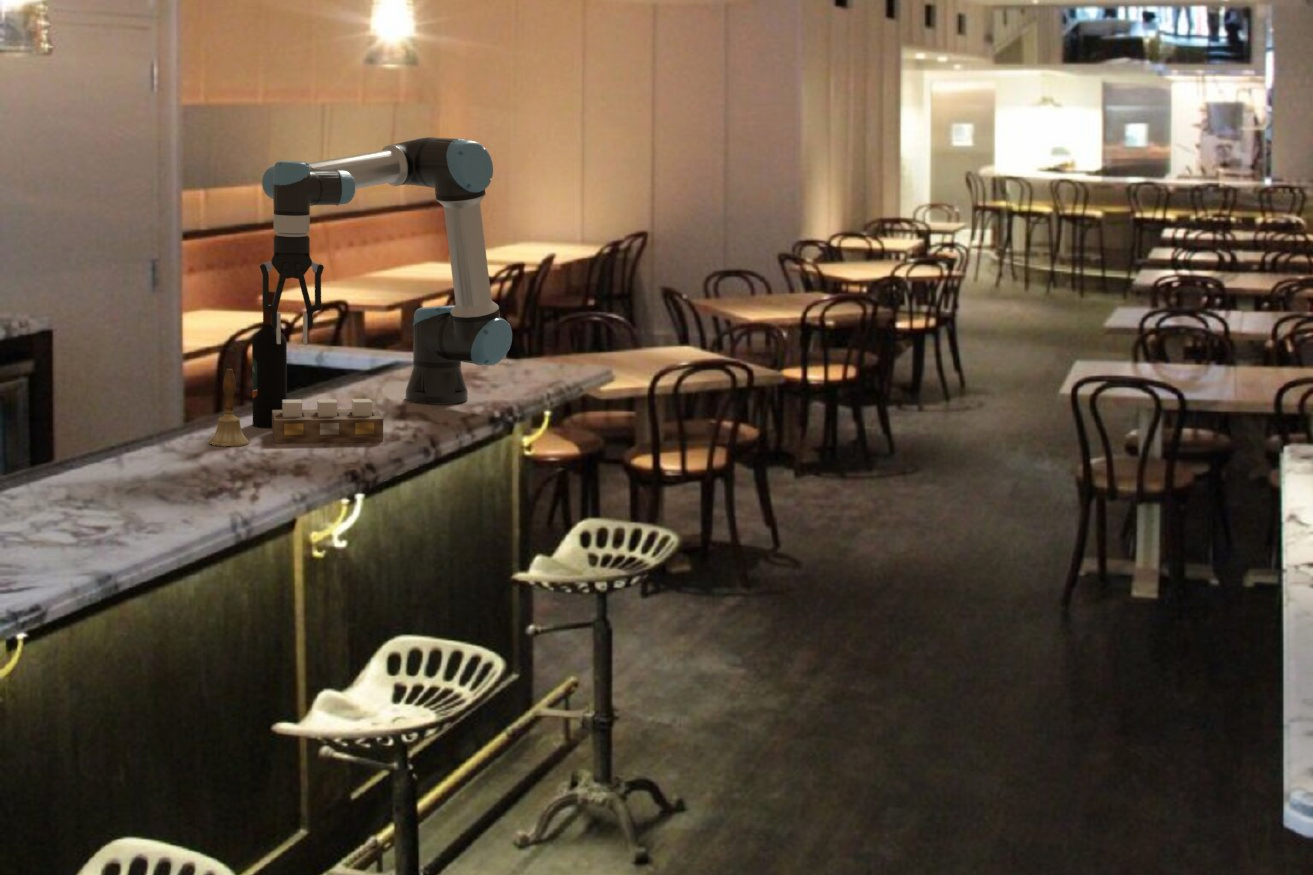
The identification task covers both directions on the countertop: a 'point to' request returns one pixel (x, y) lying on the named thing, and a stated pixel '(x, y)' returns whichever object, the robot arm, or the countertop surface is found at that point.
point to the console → (327, 427)
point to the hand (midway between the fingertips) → (291, 342)
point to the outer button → (292, 408)
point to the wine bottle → (268, 371)
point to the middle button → (326, 407)
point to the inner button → (361, 407)
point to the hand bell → (229, 418)
